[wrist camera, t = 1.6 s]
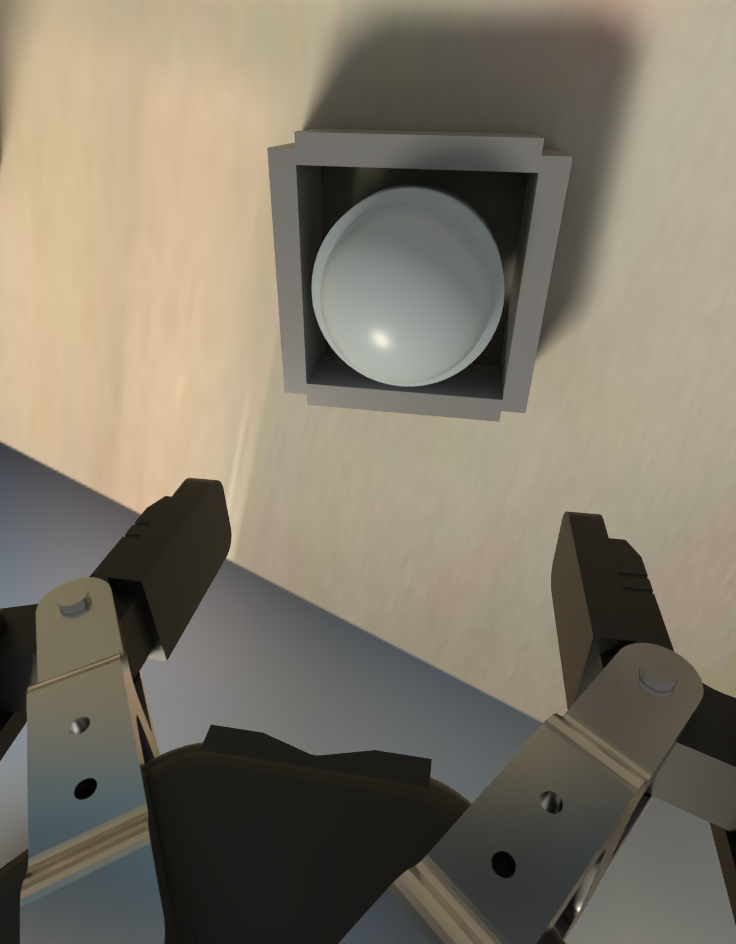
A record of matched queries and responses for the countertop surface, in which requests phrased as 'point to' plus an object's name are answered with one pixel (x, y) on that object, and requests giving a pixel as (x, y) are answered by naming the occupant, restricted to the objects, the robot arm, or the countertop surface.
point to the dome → (409, 285)
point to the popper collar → (302, 236)
